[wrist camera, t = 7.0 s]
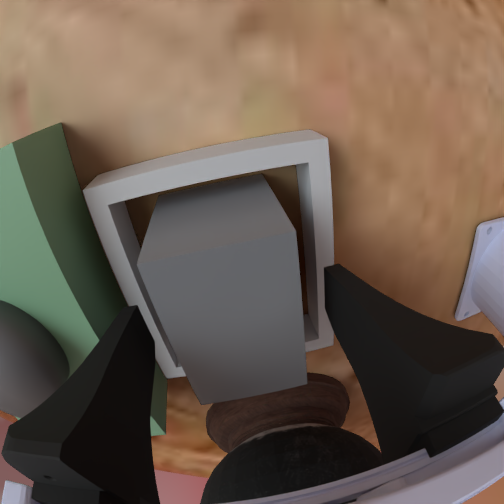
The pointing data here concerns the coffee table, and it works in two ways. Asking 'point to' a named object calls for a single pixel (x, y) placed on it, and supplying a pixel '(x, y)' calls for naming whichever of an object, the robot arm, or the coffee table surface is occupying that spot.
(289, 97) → the coffee table surface
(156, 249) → the chute block
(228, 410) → the black ball on stand
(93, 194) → the green block with dome
